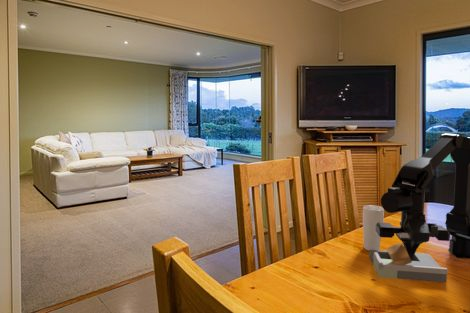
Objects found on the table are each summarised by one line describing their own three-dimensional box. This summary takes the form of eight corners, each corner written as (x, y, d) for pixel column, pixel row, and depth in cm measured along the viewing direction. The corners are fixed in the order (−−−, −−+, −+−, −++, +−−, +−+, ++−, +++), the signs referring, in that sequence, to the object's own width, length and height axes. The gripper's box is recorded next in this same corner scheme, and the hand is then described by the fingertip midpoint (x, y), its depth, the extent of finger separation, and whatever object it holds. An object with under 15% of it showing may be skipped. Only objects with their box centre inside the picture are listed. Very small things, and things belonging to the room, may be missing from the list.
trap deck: (428, 261, 108) (428, 247, 108) (446, 282, 95) (447, 267, 94) (369, 256, 112) (369, 244, 111) (378, 277, 98) (379, 262, 98)
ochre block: (407, 255, 102) (400, 242, 102) (412, 262, 98) (405, 248, 97) (392, 261, 103) (386, 248, 103) (396, 267, 99) (390, 254, 98)
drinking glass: (359, 250, 117) (361, 208, 115) (362, 243, 123) (364, 204, 121) (381, 254, 114) (383, 211, 112) (382, 247, 120) (384, 206, 118)
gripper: (385, 214, 91) (382, 269, 93) (461, 217, 88) (456, 274, 90) (376, 203, 102) (374, 252, 104) (443, 206, 99) (439, 257, 101)
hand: (409, 259), depth 100 cm, fingers closed, pressing on ochre block
